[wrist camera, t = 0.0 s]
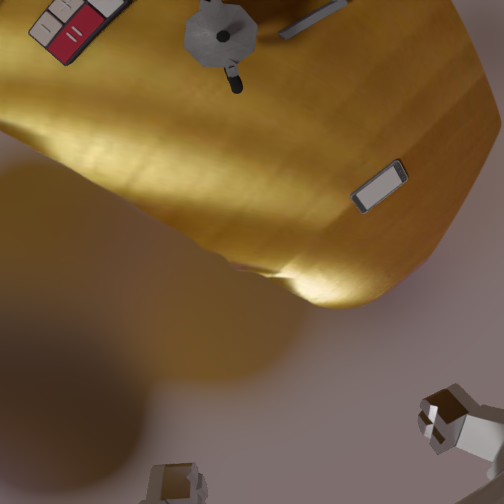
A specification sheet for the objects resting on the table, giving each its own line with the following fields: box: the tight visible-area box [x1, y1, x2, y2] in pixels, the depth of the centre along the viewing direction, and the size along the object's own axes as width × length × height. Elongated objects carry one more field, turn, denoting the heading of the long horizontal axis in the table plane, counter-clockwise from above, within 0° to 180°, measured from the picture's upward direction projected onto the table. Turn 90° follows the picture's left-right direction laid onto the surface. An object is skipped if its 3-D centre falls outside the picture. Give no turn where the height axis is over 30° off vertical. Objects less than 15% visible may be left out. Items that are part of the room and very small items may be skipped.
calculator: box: [28, 0, 132, 66], centre depth 34 cm, size 11×4×15 cm
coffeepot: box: [184, 0, 258, 94], centre depth 37 cm, size 15×9×18 cm, turn 15°
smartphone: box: [350, 159, 408, 214], centre depth 71 cm, size 7×1×15 cm
